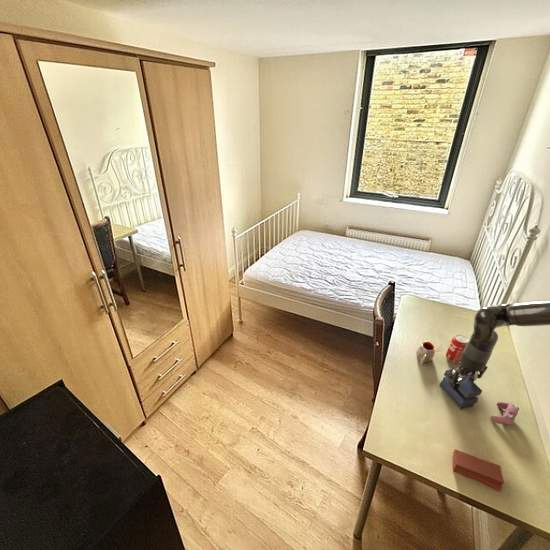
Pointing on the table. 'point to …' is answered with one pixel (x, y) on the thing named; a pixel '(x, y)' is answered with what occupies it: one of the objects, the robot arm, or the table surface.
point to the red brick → (478, 469)
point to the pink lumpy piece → (506, 413)
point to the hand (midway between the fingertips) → (460, 386)
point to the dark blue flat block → (466, 386)
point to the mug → (426, 352)
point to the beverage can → (456, 348)
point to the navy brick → (457, 395)
